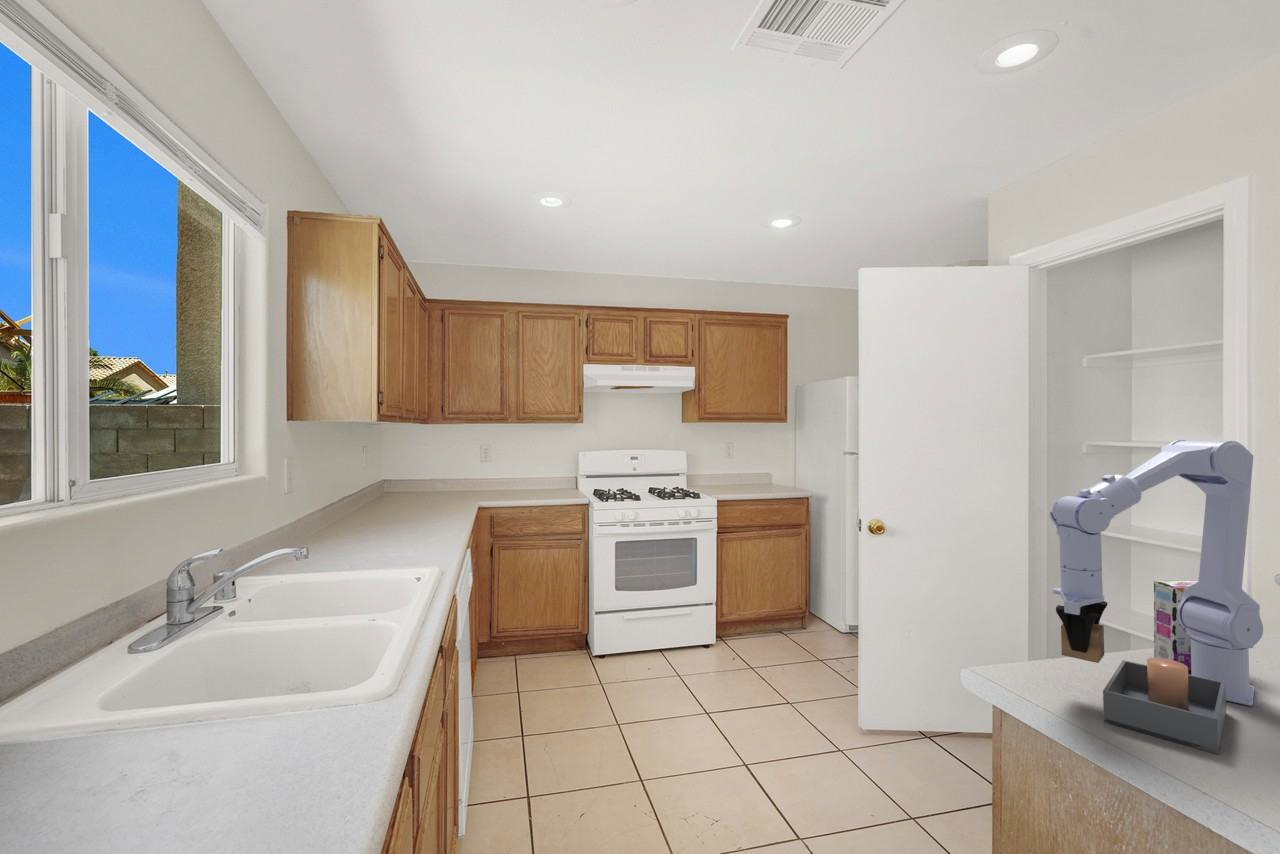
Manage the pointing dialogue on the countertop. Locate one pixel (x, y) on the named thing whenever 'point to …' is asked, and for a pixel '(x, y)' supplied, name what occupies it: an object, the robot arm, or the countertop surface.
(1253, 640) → the robot arm
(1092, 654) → the walnut cube
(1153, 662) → the terracotta cylinder
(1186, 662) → the candy bar box
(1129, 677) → the box
